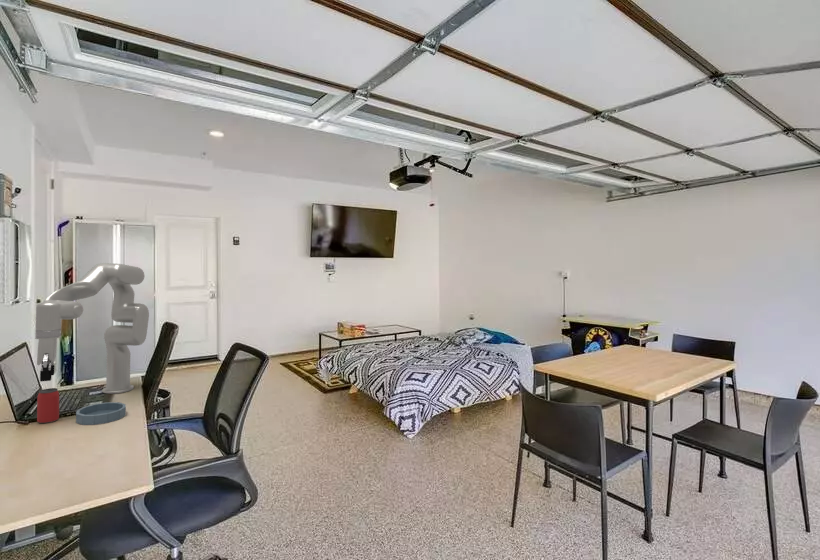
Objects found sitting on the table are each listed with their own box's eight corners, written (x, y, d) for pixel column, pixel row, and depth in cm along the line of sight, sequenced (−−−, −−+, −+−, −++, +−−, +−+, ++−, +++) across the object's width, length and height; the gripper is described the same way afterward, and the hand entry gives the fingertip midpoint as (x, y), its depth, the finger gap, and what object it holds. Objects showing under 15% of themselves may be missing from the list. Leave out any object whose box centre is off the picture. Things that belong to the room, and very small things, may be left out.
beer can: (63, 418, 168) (63, 388, 168) (47, 424, 161) (48, 393, 161) (48, 417, 169) (48, 387, 168) (32, 423, 162) (32, 392, 162)
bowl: (77, 414, 172) (77, 406, 172) (124, 408, 181) (125, 400, 181) (74, 427, 159) (74, 418, 159) (126, 419, 168) (126, 411, 168)
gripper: (38, 331, 169) (37, 374, 169) (32, 337, 155) (30, 384, 155) (62, 330, 173) (61, 372, 174) (58, 336, 159) (57, 382, 159)
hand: (47, 378), depth 164 cm, fingers open, 9 cm apart
